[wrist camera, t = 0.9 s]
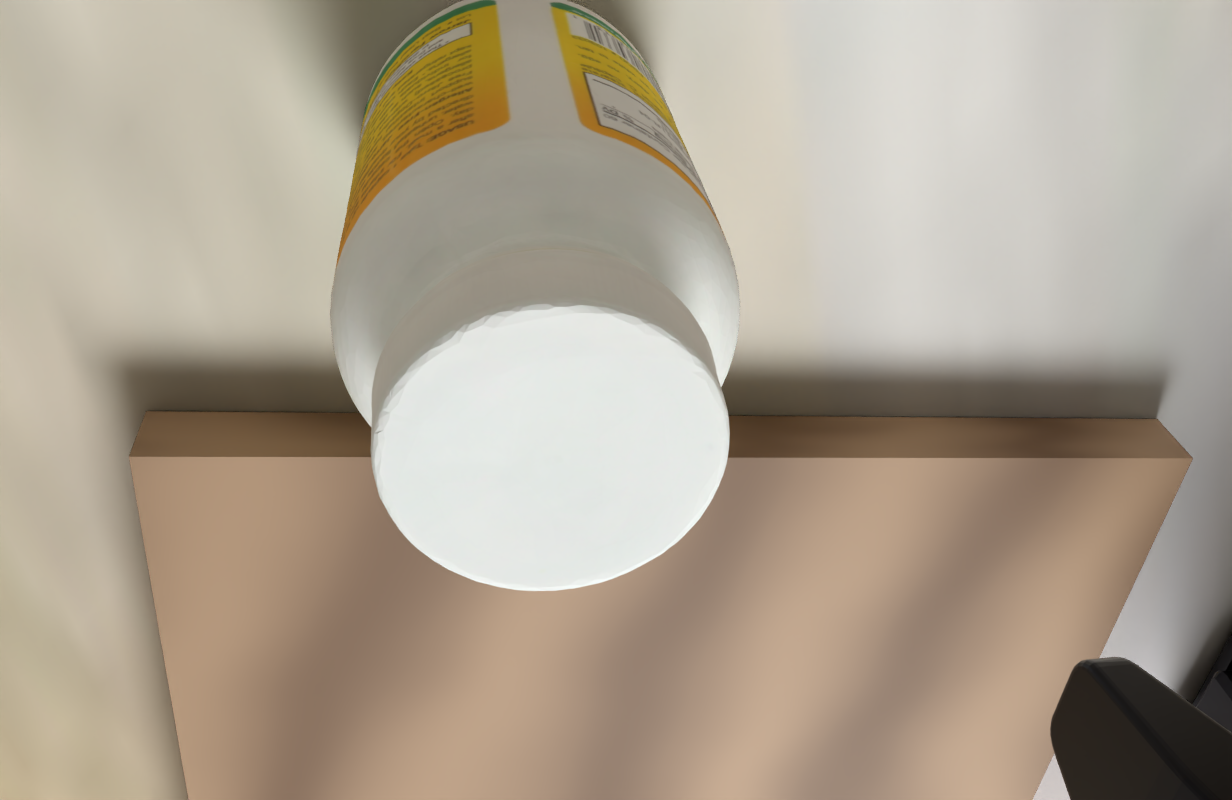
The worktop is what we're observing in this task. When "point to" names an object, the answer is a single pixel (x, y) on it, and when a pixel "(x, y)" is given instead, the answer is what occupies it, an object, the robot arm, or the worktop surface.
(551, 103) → the supplement bottle
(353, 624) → the light tan board
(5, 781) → the worktop surface
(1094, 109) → the worktop surface
